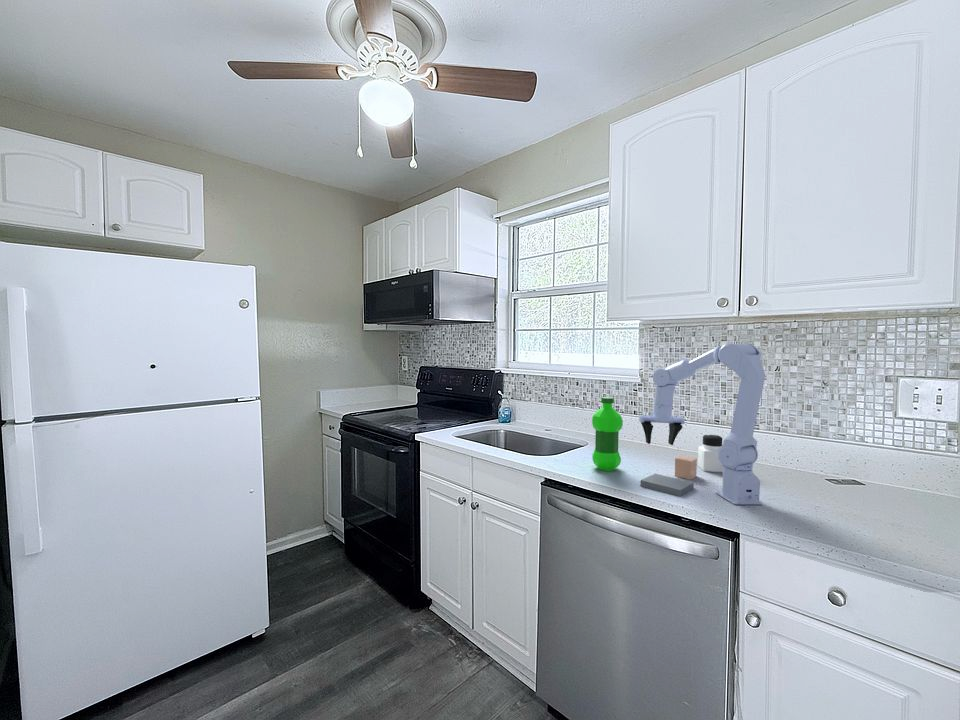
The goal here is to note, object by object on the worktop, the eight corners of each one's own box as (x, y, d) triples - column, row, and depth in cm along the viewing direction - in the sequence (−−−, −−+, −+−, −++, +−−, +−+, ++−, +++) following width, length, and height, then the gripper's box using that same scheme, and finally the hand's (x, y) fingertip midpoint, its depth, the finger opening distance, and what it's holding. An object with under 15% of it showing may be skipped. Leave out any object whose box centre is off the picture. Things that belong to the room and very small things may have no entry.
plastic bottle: (585, 468, 152) (586, 397, 151) (602, 462, 159) (603, 395, 158) (610, 475, 144) (611, 400, 143) (627, 469, 151) (628, 397, 150)
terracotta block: (696, 476, 143) (696, 458, 143) (690, 479, 140) (690, 461, 140) (680, 473, 147) (681, 455, 147) (674, 476, 144) (675, 458, 143)
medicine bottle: (726, 472, 147) (727, 438, 147) (703, 471, 149) (704, 437, 148) (719, 467, 154) (720, 433, 154) (697, 465, 156) (698, 432, 155)
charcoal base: (693, 488, 132) (693, 482, 131) (680, 496, 125) (680, 490, 125) (655, 478, 140) (655, 473, 140) (640, 485, 133) (640, 480, 133)
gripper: (679, 402, 149) (675, 441, 150) (637, 400, 149) (633, 439, 150) (689, 407, 142) (684, 447, 143) (644, 405, 142) (641, 445, 143)
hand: (659, 443), depth 146 cm, fingers open, 7 cm apart
